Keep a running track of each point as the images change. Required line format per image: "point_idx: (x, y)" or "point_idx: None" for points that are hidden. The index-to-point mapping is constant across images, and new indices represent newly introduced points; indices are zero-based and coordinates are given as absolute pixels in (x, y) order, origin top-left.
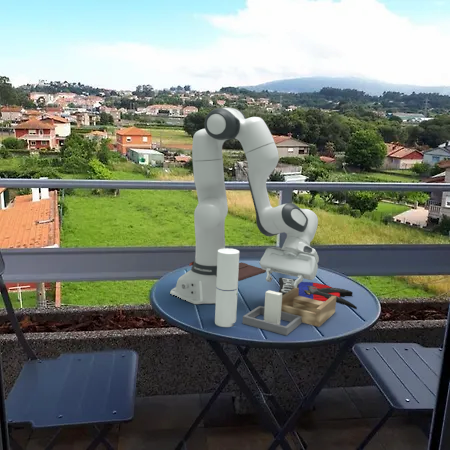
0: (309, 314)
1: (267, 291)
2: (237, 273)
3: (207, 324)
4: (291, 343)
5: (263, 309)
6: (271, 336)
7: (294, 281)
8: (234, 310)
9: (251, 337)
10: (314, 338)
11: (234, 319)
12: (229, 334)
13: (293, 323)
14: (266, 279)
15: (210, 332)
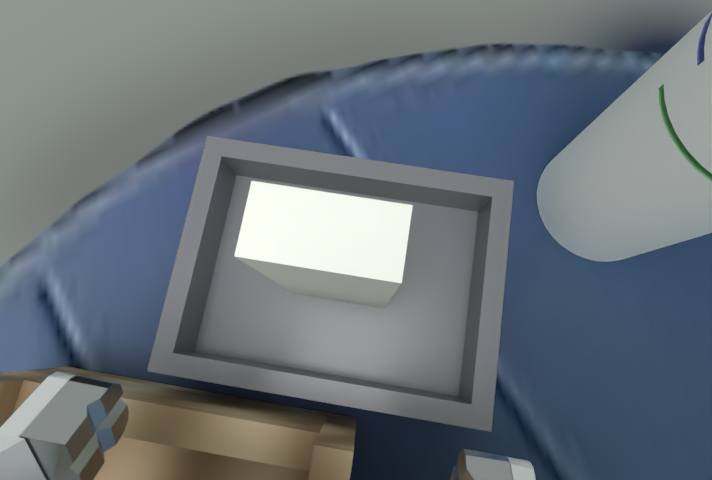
0: None
1: (399, 232)
2: None
3: None
4: (192, 122)
5: (444, 399)
6: None
7: (34, 431)
8: (583, 145)
9: (395, 97)
10: (85, 232)
11: (553, 176)
12: (507, 80)
13: (185, 228)
14: (515, 459)
15: (602, 59)
